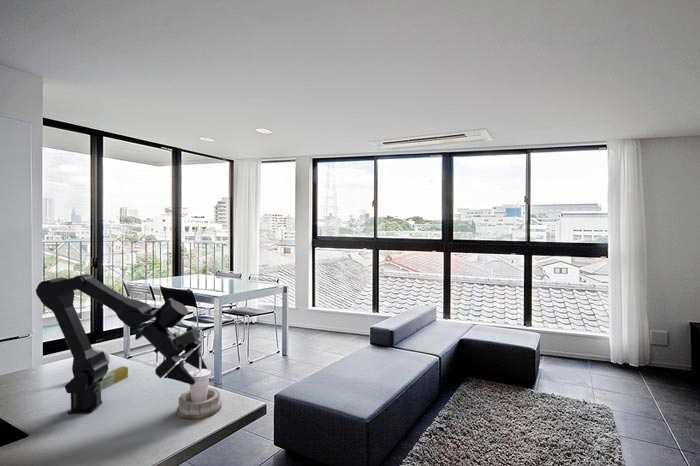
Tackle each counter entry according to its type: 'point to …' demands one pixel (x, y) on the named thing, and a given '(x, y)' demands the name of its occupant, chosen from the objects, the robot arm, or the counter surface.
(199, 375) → the smoothie
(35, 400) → the counter surface
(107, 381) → the medication box
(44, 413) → the counter surface
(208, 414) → the stone fire pit
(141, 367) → the counter surface
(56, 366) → the counter surface
